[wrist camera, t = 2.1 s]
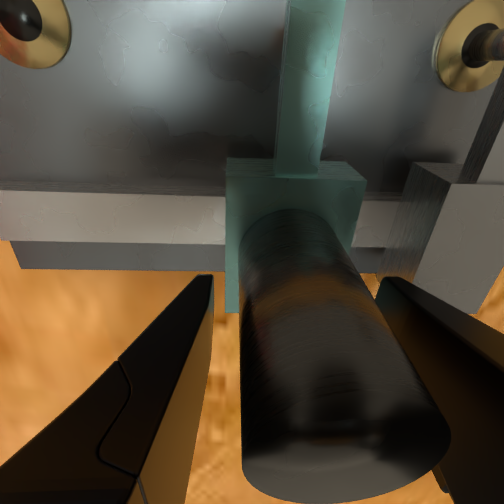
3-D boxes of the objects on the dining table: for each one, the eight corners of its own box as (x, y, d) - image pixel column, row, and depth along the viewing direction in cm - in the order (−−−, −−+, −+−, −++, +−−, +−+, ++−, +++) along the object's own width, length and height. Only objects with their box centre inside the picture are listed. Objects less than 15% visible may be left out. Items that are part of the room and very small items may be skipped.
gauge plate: (573, -58, 10) (813, -143, 6) (438, 257, 16) (507, 323, 12) (-95, -118, 9) (-396, -285, 4) (39, 250, 15) (-35, 322, 11)
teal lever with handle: (367, 16, 9) (1013, -214, 2) (317, 272, 14) (417, 519, 6) (228, 6, 9) (195, -329, 1) (226, 271, 13) (217, 527, 6)
